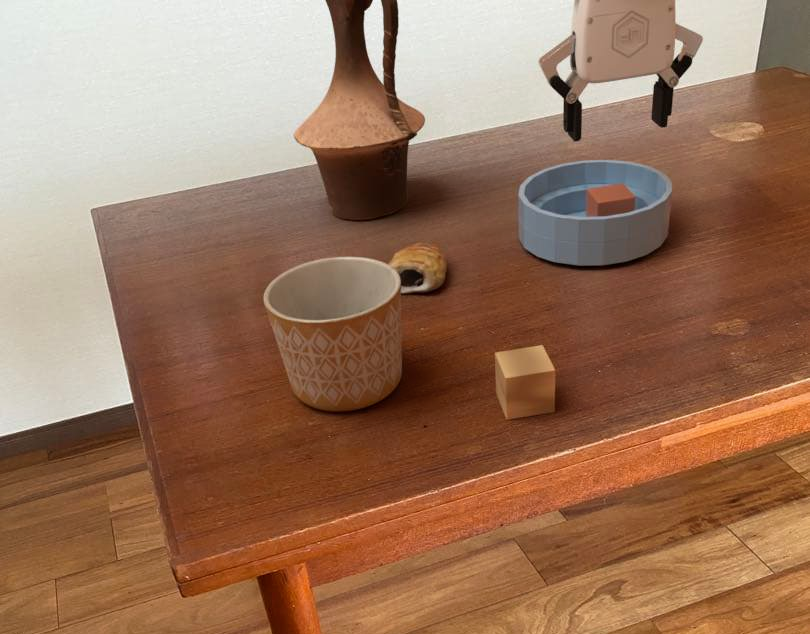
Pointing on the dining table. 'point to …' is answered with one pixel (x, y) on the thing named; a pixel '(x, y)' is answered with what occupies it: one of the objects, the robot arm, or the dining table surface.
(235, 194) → the dining table surface
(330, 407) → the planter
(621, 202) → the block
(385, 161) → the pitcher
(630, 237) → the bowl
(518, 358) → the block
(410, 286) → the pastry
